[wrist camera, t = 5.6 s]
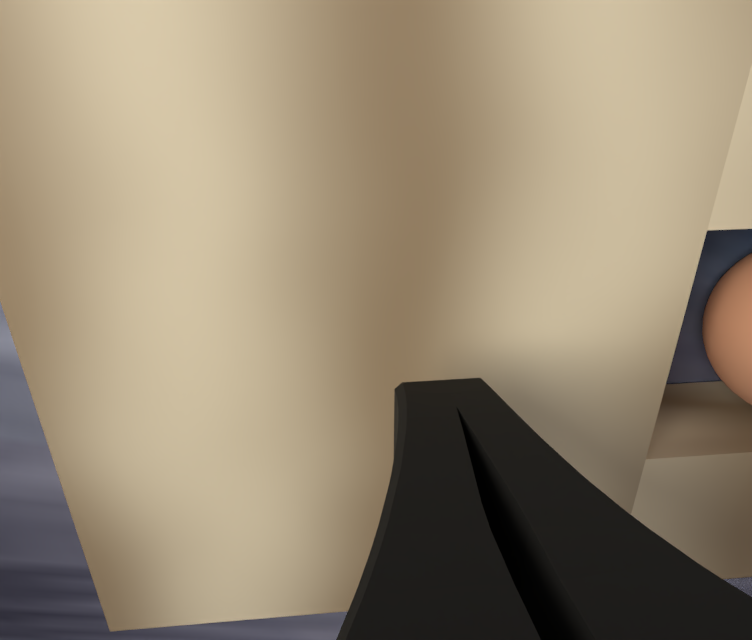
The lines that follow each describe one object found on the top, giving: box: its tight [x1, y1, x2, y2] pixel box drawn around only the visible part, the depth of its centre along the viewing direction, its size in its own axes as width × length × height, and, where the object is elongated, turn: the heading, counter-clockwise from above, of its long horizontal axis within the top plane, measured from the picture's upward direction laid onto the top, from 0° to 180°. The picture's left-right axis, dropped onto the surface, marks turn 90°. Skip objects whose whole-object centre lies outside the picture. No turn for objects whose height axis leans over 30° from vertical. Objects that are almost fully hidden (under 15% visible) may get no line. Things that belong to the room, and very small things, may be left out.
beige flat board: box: [0, 0, 752, 631], centre depth 13 cm, size 18×13×2 cm
